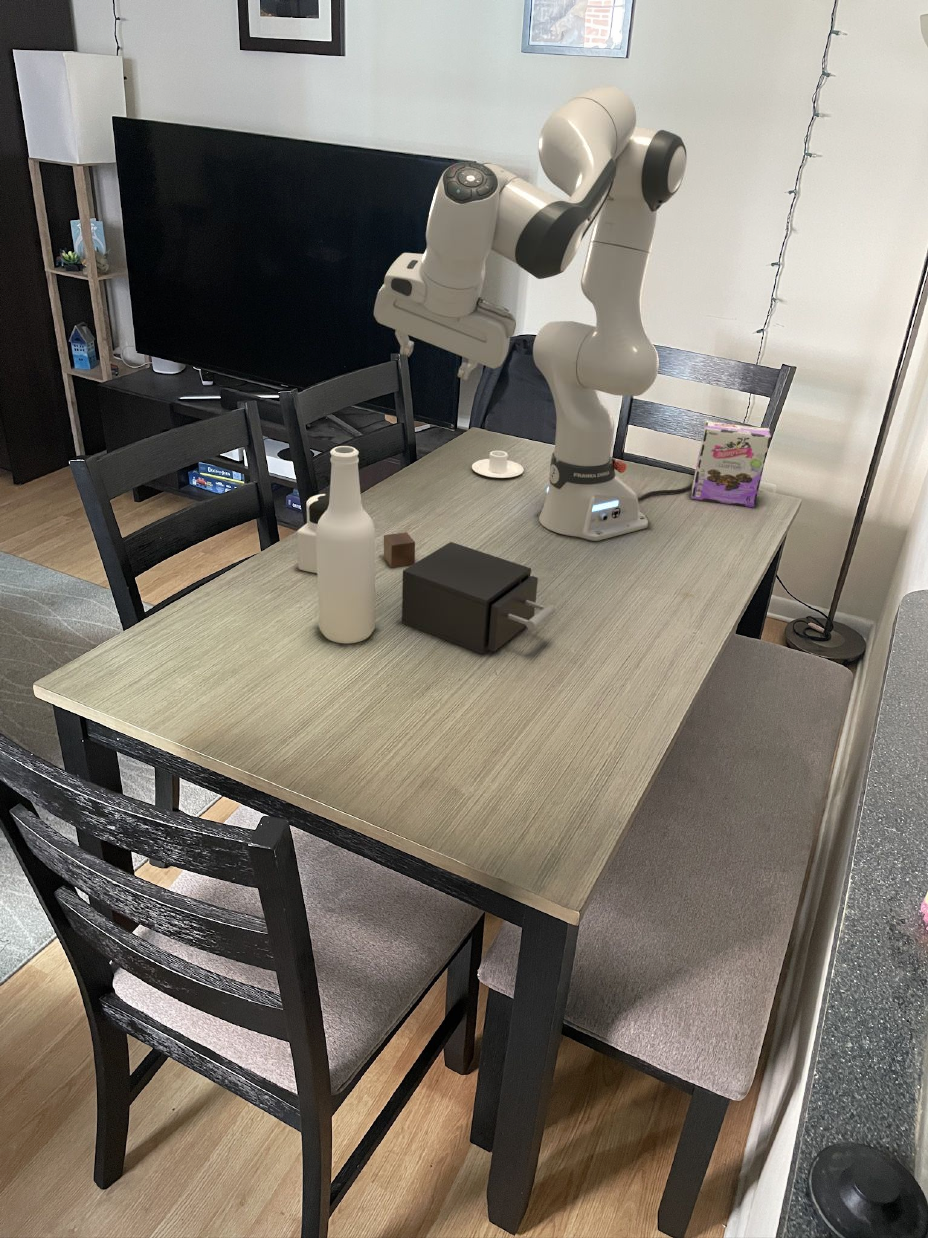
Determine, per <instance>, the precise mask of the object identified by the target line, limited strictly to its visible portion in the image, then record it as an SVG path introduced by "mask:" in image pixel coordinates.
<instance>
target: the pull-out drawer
mask: <svg viewBox="0 0 928 1238" xmlns="http://www.w3.org/2000/svg"><path fill="white" fill-rule="evenodd" d="M538 582H539V577H537V576H534V575H531V576H530V577H529V578H528V579H527V580H525V581H524V582H523V583H522V579H521V580H520V581H518V582H517V583H516V584H514V585H513V586H512V587H510V588H509V589H507V590H506V591H505V592H503V593H502V594H501V595H499V596H498V597H497V598H495V599H494V600H492V601H491V602H490V603H489V609H488V622H487V635H486V640H487V639H489V644H488V649H489V650H488V651H491V652H496V651H497V650H498V649H500V648H501V647H502V646H503V645H504V644H506V643H507V642H508V641H509V640H511V639H512V638H513V637H514V636H516V635H517V634H518V633H519V632H520V631H522V630H523V629H524V628H525V627H526V628H527V629H528V630H529V631H534V630H535V629H536V628H538V627H539V626H541V624H543V623H544V622H545V621H546V620H548V619H549V618H550V617H551V616H552V615H554V614H555V612H556V608H555V606H554V605H553V604H551V603H550V604H546V605H544V604H540V603H537V602H536V601H537V591H538ZM536 609H537V610H539V611H538V612H537V613H536V614H535V611H536Z"/></svg>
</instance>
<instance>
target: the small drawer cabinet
mask: <svg viewBox="0 0 928 1238" xmlns="http://www.w3.org/2000/svg"><path fill="white" fill-rule="evenodd" d="M531 576H532V568H531V567H529V566H525V565H523V564H520V563H516V562H513V561H510V560H507V559H504V558H501V557H498V556H495V555H492V554H489V553H487V552H483V551H480V550H478V549H474V548H471V547H468V546H464V545H461V544H459V543H456V542H453V541H450V542H448V543H446V544H444V545H443V546H442V547H440V548H438V549H436V550H435V551H433V552H431V553H429V554H428V555H426V556H424V557H423V558H421V559H420V560H418V561H416V562H415V564H413V565H409V566H408V567H406V568H405V569H403V570H402V585H401V586H402V587H401V589H402V595H401V599H402V600H401V623H402V624H404V625H406V626H409V627H411V628H414V629H416V630H419V631H421V632H424V633H426V634H429V635H431V636H434V637H436V638H440V639H442V640H444V641H447V642H449V643H452V644H454V645H457V646H459V647H462V648H465V649H468V650H470V651H472V652H475V653H478V654H480V655H484V654H485V653H487V652H488V651H490V650H489V649H488V644H489V639H487V640H486V635H487V622H488V609H489V603H490V602H491V601H492V600H494V599H495V598H497V597H498V596H499V595H501V594H502V593H503V592H505V591H506V590H507V589H509V588H510V587H512V586H513V585H514V584H516V583H517V582H518V581H520V580H521V579H522V583H523V582H524V581H525V580H527V579H528V578H529V577H531Z"/></svg>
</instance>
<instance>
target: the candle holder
mask: <svg viewBox="0 0 928 1238" xmlns="http://www.w3.org/2000/svg"><path fill="white" fill-rule="evenodd" d="M508 454H509V453H508V452H506V451H503V450H493V451H491V452H489V458H484V459H479V460H477V461H475V462H473V463H472V465H471V469H472V470H473V471H474V472H475V473H477V474H479V475H482V476H484V477H489V478H497V479H505V478H506V479H507V478H508V479H509V478H514V477H517V476H520V475H522V474H523V473H524V467H523V466H522V465H521V464H520V463H518V462H516V461H512V460H508V457H509V455H508Z"/></svg>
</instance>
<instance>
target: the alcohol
mask: <svg viewBox="0 0 928 1238" xmlns="http://www.w3.org/2000/svg"><path fill="white" fill-rule="evenodd" d="M329 453H330V455H331V457H330V460H329V461H330V463H331V465H330V466H331V468H330V484H329V494H330V501H329V506H328V509H327V510H326V511H325V513H324V514H323V515H322V516H321V518H320V519H319V521H318V525H317V529H316V548H317V573H316V574H317V575H316V576H317V599H318V601H317V602H318V627H319V631H320V632H321V633H322V635H323V636H324V637H325V639H327V640H329V641H331V642H334V643H338V644H355V643H359V642H363V641H365V640H366V639H368V638H370V636H371V635H372V634H373V632H374V631H375V628H376V529H375V525H374V521H373V519H372V517H371V516H370V515H369V514H368V513H367V511H366V510H365V509H364V507H363V504H362V496H361V485H360V473H359V462H360V461H359V460H360V459H359V457H358V455H359V453H360V452H359V450H358V449H356V448H355V447H353V446H349V445H339V446H336V447H333V448H332V449H331V450H330V451H329Z"/></svg>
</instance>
